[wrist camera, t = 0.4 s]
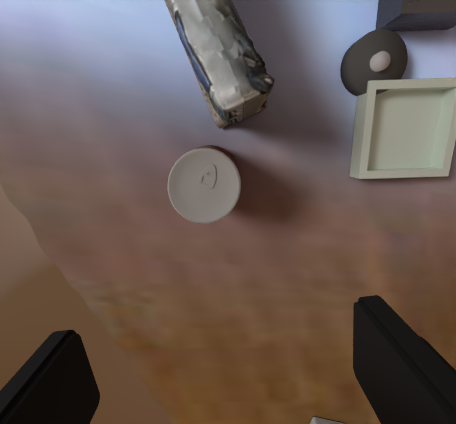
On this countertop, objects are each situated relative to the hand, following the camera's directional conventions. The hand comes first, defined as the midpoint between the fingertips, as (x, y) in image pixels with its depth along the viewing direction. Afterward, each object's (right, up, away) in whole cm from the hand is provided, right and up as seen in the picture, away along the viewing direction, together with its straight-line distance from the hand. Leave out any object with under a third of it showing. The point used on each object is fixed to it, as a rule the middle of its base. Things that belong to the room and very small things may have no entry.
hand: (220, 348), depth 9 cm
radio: (-3, +27, +24) cm, 36 cm away
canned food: (-2, +10, +29) cm, 30 cm away
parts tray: (+24, +16, +27) cm, 39 cm away
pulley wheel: (+18, +23, +25) cm, 39 cm away
